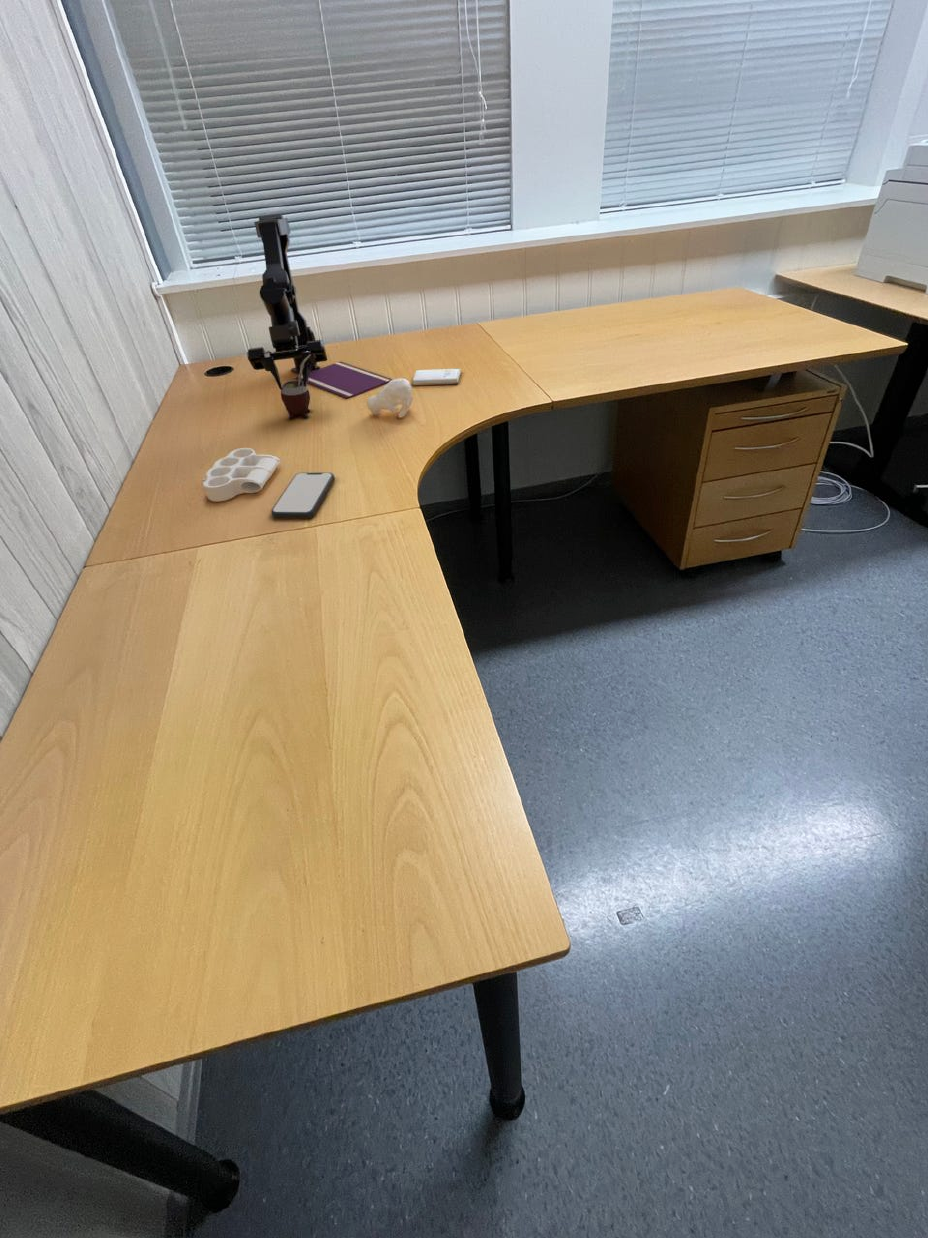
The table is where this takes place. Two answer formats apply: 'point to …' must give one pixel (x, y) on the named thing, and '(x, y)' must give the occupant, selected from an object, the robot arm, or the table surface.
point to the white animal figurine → (392, 397)
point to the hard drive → (436, 376)
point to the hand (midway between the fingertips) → (292, 387)
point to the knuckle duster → (238, 474)
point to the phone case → (303, 495)
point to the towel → (345, 379)
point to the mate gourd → (296, 396)
